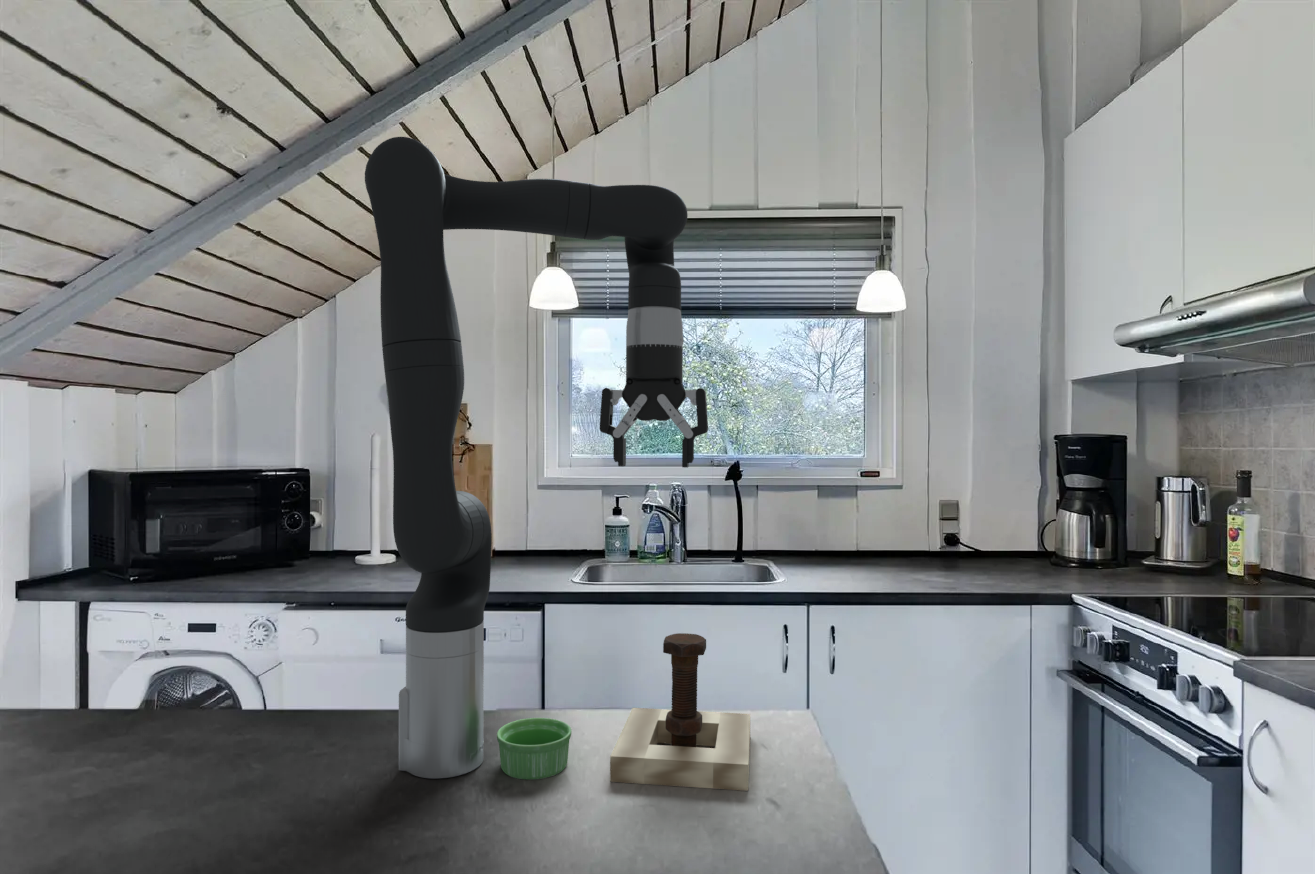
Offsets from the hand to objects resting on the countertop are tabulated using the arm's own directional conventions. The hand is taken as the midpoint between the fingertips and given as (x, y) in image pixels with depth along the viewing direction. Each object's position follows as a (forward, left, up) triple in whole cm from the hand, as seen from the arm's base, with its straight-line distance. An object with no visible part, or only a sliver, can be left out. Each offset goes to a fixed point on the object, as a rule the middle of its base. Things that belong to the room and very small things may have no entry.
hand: (653, 466), depth 105 cm
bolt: (+5, -6, -36) cm, 37 cm away
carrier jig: (+5, -6, -36) cm, 37 cm away
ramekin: (-13, -11, -36) cm, 40 cm away
